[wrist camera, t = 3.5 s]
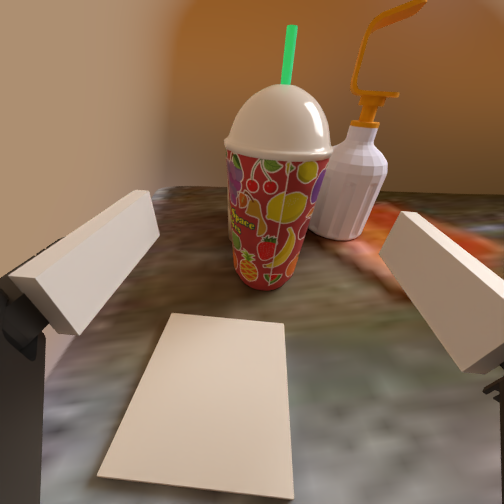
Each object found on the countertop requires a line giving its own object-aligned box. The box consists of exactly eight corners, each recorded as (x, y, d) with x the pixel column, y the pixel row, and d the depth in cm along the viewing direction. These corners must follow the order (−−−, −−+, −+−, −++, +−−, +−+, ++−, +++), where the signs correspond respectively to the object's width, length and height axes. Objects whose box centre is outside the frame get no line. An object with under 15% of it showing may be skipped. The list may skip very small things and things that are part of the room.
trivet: (282, 327, 19) (283, 323, 18) (292, 500, 11) (294, 498, 10) (172, 317, 19) (171, 312, 19) (101, 477, 11) (96, 475, 11)
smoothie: (222, 255, 27) (214, 32, 15) (283, 249, 29) (319, 46, 17) (234, 307, 20) (237, -15, 8) (311, 294, 22) (404, 17, 10)
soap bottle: (363, 247, 30) (487, -22, 16) (300, 234, 32) (357, -16, 17) (357, 220, 37) (439, 17, 23) (306, 210, 39) (350, 18, 24)
